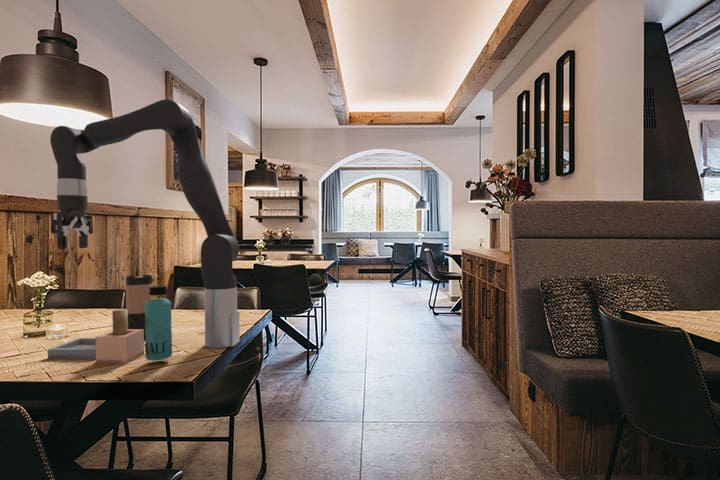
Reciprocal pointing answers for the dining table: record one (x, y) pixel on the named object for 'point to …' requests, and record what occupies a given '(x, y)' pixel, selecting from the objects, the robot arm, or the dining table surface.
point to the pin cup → (119, 347)
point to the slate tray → (74, 349)
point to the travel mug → (137, 300)
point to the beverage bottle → (158, 326)
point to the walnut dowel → (120, 322)
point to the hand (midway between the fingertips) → (73, 248)
